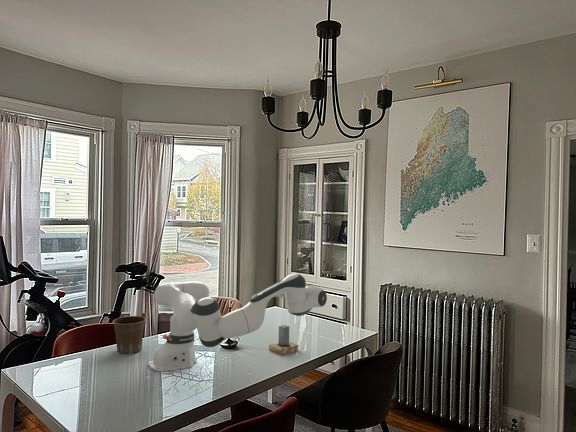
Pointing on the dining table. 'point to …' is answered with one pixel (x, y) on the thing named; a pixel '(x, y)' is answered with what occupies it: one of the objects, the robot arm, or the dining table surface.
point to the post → (283, 336)
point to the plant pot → (129, 333)
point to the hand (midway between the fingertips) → (281, 288)
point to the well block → (283, 348)
